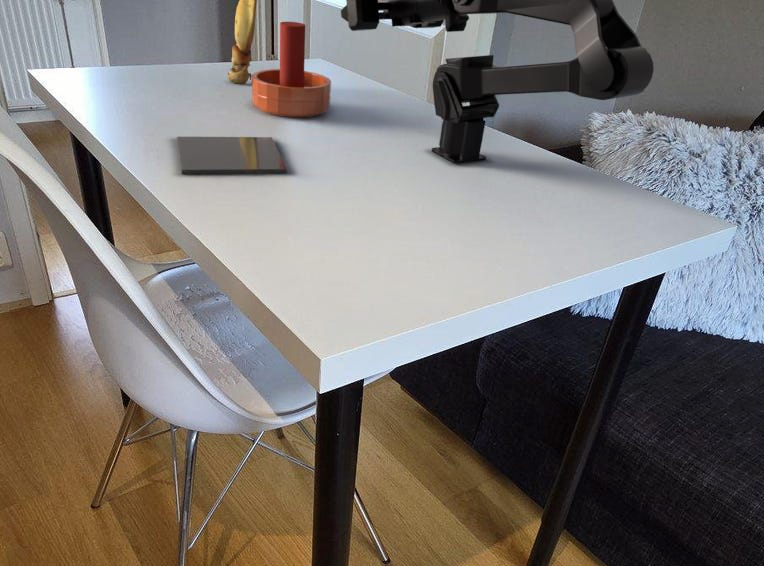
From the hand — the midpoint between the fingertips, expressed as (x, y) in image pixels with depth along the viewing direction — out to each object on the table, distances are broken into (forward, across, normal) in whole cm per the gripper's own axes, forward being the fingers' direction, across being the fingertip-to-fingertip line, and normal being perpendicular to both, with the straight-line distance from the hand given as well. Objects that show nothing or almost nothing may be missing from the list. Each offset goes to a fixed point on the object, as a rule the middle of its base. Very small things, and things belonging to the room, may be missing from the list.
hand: (363, 13), depth 110 cm
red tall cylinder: (+11, +9, +13) cm, 19 cm away
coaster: (-6, +32, +18) cm, 38 cm away
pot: (+11, +9, +14) cm, 20 cm away
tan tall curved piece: (+28, +9, +9) cm, 31 cm away
